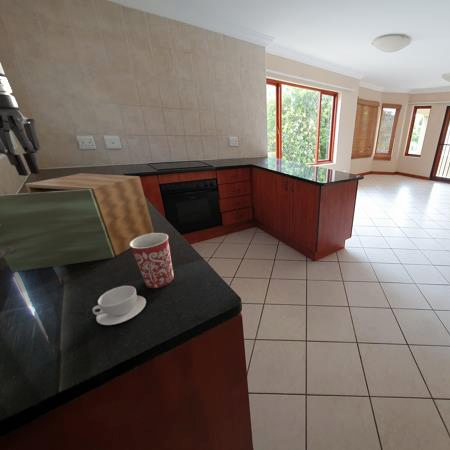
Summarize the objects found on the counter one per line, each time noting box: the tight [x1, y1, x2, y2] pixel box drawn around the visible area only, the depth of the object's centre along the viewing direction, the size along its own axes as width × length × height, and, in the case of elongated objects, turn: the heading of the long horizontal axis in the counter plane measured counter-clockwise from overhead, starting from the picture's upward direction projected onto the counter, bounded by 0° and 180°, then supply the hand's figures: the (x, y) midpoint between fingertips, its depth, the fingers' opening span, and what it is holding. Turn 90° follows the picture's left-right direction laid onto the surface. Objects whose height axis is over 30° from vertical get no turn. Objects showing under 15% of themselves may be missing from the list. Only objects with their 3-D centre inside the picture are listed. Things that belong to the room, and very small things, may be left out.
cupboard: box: [24, 172, 155, 257], centre depth 87 cm, size 18×26×24 cm
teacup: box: [92, 285, 147, 326], centre depth 57 cm, size 10×10×5 cm
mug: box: [129, 232, 175, 289], centre depth 68 cm, size 13×9×14 cm
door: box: [0, 189, 116, 273], centre depth 70 cm, size 6×26×24 cm, turn 110°
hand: (29, 174), depth 78 cm, fingers open, 3 cm apart
